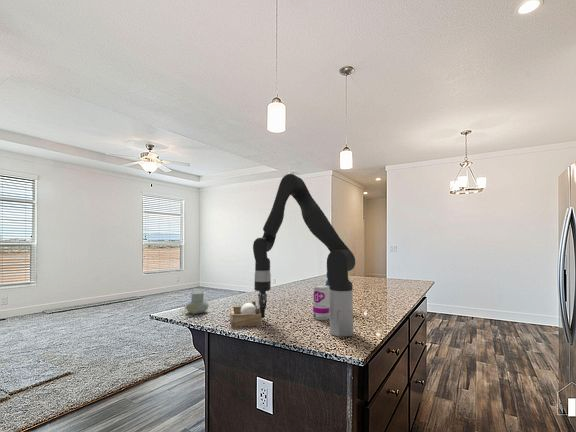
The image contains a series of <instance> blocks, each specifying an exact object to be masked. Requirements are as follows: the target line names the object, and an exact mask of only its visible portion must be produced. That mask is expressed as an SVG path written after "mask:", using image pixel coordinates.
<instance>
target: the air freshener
mask: <svg viewBox="0 0 576 432" xmlns="http://www.w3.org/2000/svg"><path fill="white" fill-rule="evenodd" d="M208 308H209V304H208V302H207V301H205V300H204V292H203V291H202V292H201V291H195V292H192V293H191V301H189V302H188V303H187V304H186V307H185V309H186V311H187V312H188V313H189V314H192V315H200V314H203V313H205V312H206V311H207V310H208Z"/></svg>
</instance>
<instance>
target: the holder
mask: <svg viewBox="0 0 576 432" xmlns="http://www.w3.org/2000/svg"><path fill="white" fill-rule="evenodd" d="M251 303H252V304H253V305H254V306H255V308H256V309H255V313H251V314H241V307H242V306H243V305H238V306H230V309H229V310H230V311H229V312H230V313H229V314H230V315H229V317H230V319H231V320H230V326H231V328H236V327H237V328H238V327H239V326H240V327H255V326H262V318H261V313H260V309H259V307H258V305H256V303H257V302H256V301H251Z"/></svg>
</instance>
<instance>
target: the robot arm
mask: <svg viewBox="0 0 576 432" xmlns="http://www.w3.org/2000/svg"><path fill="white" fill-rule="evenodd" d="M290 196H291V197H292V198H293V199H294V200H295V202H296V203H297V204H298V206H299V208H300V210H301V211H300V212H301V216H302V219H303V221H304V223H305V225H306V227H307V228H308V230H309V232H311V234H312V235H313V236H314V237H315V238H316V239H318V241H320V242H321V243H322V244H323V245H324V246H325V247H326V248H327V249H328V251H329V253H328V255H327V258H326V278H327V279H328V283H329V287H330V318H329V334H330V335H332V336H335V337H336V336H337V337H338V338H340V337H341V338H342V337H353V336H354V299H353V297H354V295H353V293H354V292H353V291H354V289H353V285H354V284H353V282H351V281H350V279H349V272H350V271H352V270H354V268H355V266H356V257H355V255H354V253H353V252H352V251H351V250H350V248H349V247H348V246H347V244H345V242H344V241H343V240H342V239H341V237H340V236H339V234H338V233H337V231H336V229H335V228H334V227H333V225H332V224H331V222H330V221H329V220H330V219H328V217H327V216H326V214H325V213H324V212H323V210H322V209H321V207H320V206H319V205H318V203H317V202H316V200H315V199H314V198H313V196H312V195H311V193H310V190H309V188H308V187H307V185H306V183H305V181H304V180H303V179H302V178H301V177H299V176H297V175H295V174H294V173H287V174H285V175H283V177H282V178H281V180H280V182H279V185H278V188H277V191H276V196H275V197H274V201H273V205H272V208H271V210H270V213H269V214H268V217H267V219H266V221H265V223H264V225H263V226H262V227H263V228H262V230H263V235H262V237H257V238H256V239H255V240H254V241H253V244H252V250H253V256H254V260H255V261H254V262H255V266H254V267H255V269H254V286H253V287H254V291H255V292H258V293H257V298H258V301H257V302H258V303H257V304H258V308H259V309H260V313H261V319H265V317H266V309H267V303H268V295H267V292H269V291H271V288H272V287H271V286H272V285H271V282H272V281H271V279H272V278H271V277H272V275H271V260H270V258H268V252H270V251H271V250H272V248H273V247H274V244H275V242H276V238H277V234H278V232H279V230H280V228H281V226H282V224H283V221H284V217H285V210H286V209H285V207H286V204H287V201H288V200H289V198H290Z"/></svg>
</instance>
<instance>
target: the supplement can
mask: <svg viewBox="0 0 576 432" xmlns="http://www.w3.org/2000/svg"><path fill="white" fill-rule="evenodd" d="M312 301H313V302H312V311H313V312H312V316H313V318H314V319H315V320H317V321H328V320H330V288H329V286H326V285H321V284H320V285H314V286H313V289H312Z"/></svg>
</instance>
